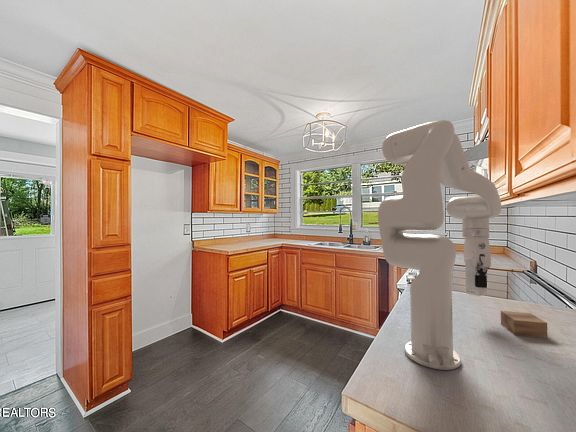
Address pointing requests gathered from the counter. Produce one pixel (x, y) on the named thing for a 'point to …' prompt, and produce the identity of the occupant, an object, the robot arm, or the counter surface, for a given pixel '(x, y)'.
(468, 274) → the skincare box
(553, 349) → the counter surface
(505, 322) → the brown wooden block
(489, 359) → the counter surface
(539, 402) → the counter surface
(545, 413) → the counter surface
